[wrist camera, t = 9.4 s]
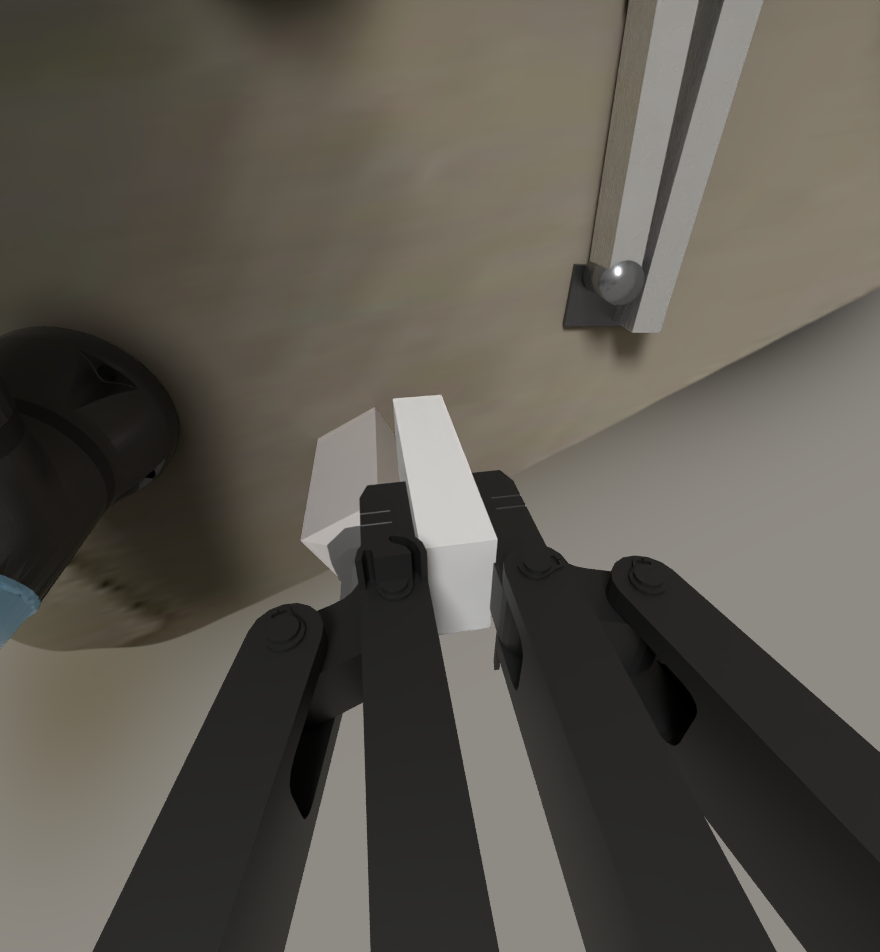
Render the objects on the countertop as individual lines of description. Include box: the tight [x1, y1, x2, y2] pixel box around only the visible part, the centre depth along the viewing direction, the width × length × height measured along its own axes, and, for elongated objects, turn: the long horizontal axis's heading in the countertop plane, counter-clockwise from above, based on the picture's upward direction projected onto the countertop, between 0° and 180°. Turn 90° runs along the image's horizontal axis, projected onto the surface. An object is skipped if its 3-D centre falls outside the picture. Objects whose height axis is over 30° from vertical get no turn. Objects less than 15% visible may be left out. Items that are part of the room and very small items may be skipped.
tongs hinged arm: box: [583, 0, 699, 305], centre depth 30 cm, size 3×24×4 cm, turn 2°
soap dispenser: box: [301, 407, 400, 600], centre depth 36 cm, size 6×9×22 cm
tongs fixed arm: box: [563, 0, 764, 333], centre depth 32 cm, size 8×27×4 cm, turn 178°
